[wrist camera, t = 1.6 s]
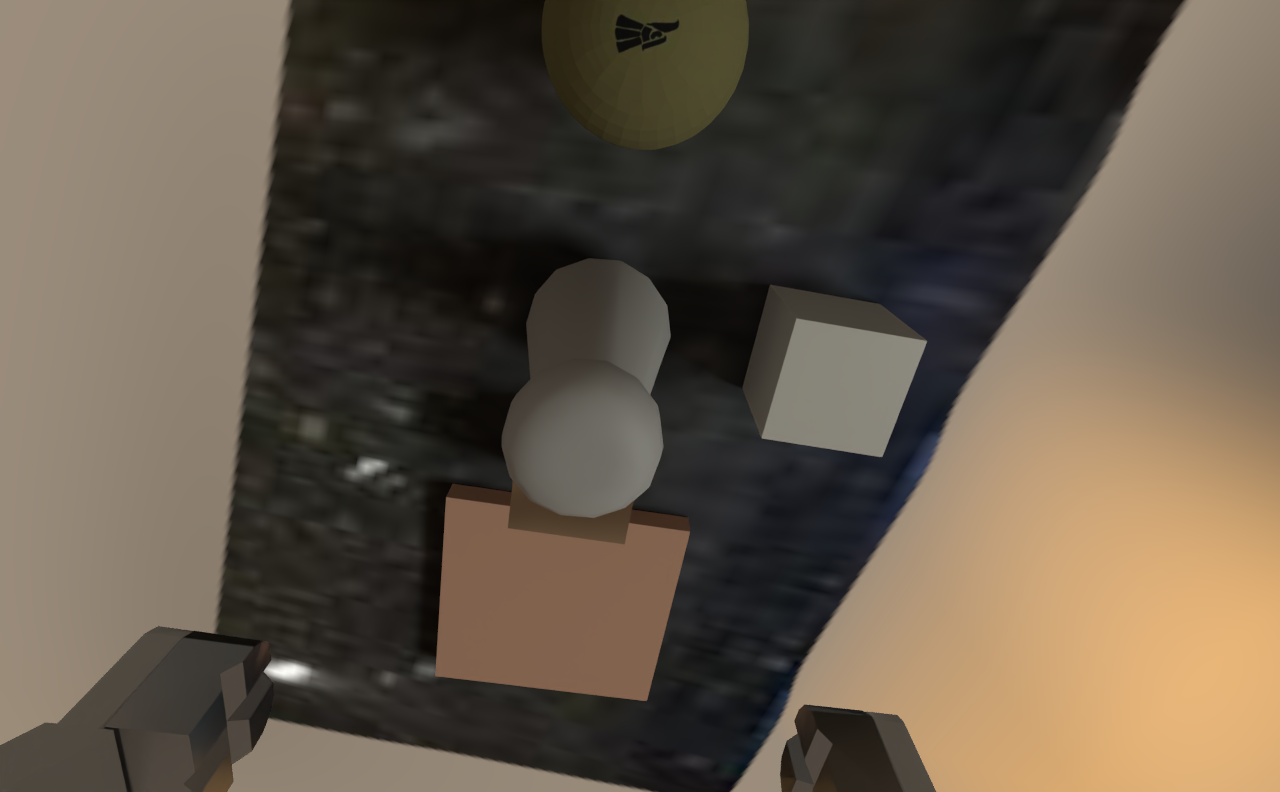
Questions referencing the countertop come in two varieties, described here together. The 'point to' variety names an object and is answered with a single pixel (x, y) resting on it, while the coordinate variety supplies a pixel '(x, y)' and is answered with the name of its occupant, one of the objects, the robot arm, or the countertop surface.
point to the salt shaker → (589, 391)
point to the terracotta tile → (554, 600)
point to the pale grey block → (829, 371)
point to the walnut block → (567, 521)
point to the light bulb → (645, 65)
